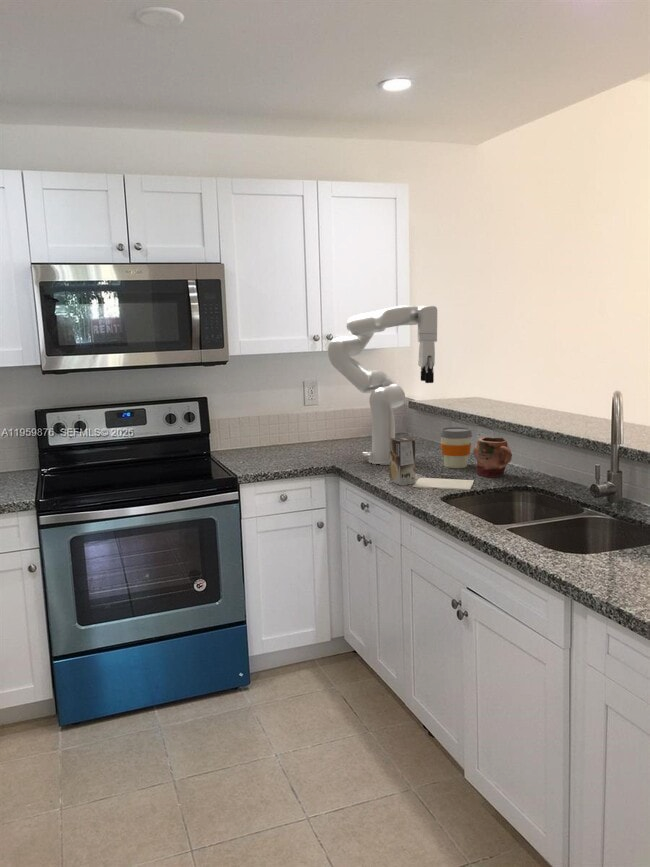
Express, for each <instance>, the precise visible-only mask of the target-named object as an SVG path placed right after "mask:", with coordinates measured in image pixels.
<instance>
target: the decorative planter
mask: <svg viewBox="0 0 650 867" xmlns="http://www.w3.org/2000/svg"><path fill="white" fill-rule="evenodd" d="M472 454H473V456H474V457H475V458H476V465H475V466H476V474H477V475H479V476H481V477H483V478H496V477H502V476H503V475H504V473H505V470H506V468H507V465H508V464H510V462H511V461H512V458H513V454H512V451H511V449H510V447H509V445H508V441H507V439H505V438H504V437H481V438H479V439H478V440H477V442H476V444H475V447H474V448H473V450H472Z"/></svg>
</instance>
